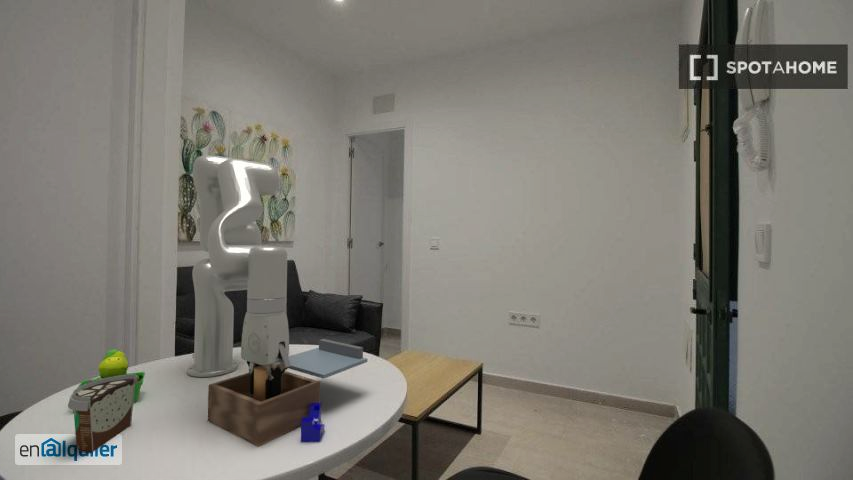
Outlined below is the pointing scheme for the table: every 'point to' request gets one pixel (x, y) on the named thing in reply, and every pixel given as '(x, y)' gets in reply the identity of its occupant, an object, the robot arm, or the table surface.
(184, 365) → the table surface
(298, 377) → the housing
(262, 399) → the peg
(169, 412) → the table surface
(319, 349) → the lid
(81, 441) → the food container
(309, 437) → the cable holder
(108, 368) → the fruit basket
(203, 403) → the table surface
